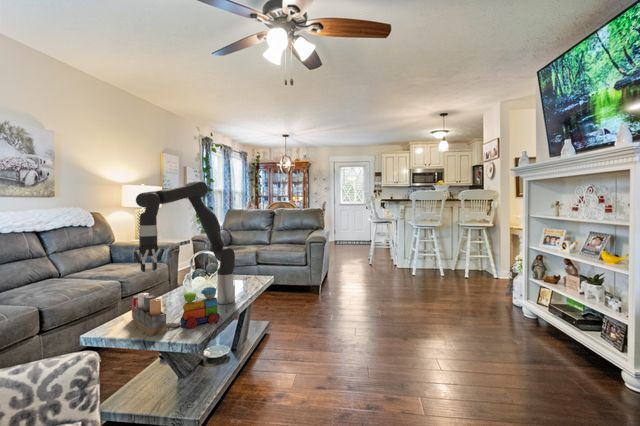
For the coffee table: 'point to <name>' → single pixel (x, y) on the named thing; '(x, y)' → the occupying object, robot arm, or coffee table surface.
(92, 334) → the coffee table surface
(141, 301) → the plunger
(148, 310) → the grey upright block
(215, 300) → the toy train
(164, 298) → the coffee table surface
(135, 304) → the soda can
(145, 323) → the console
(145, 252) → the robot arm
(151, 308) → the plunger
